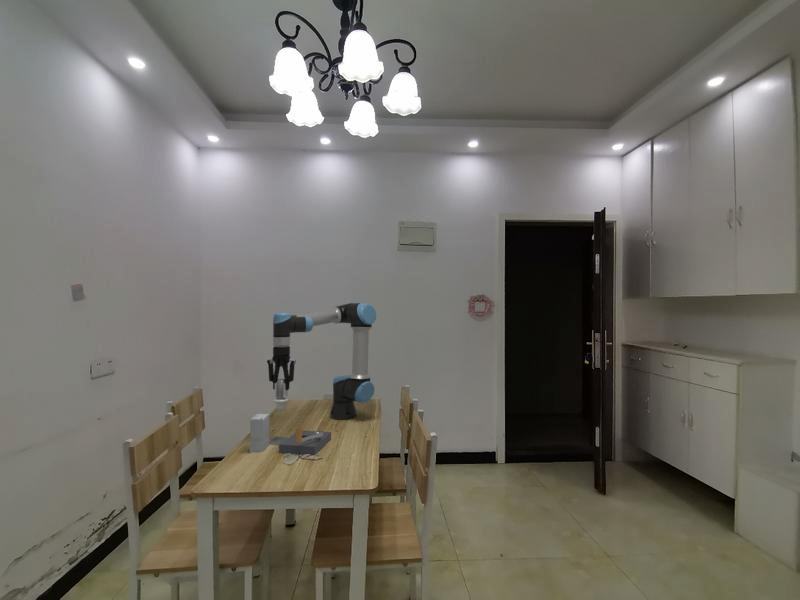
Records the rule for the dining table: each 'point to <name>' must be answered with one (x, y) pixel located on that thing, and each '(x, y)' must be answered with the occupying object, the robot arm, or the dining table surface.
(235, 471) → the dining table surface
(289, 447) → the socket block
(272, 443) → the pad
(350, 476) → the dining table surface
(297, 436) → the clip
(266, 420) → the skincare box
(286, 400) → the plug
